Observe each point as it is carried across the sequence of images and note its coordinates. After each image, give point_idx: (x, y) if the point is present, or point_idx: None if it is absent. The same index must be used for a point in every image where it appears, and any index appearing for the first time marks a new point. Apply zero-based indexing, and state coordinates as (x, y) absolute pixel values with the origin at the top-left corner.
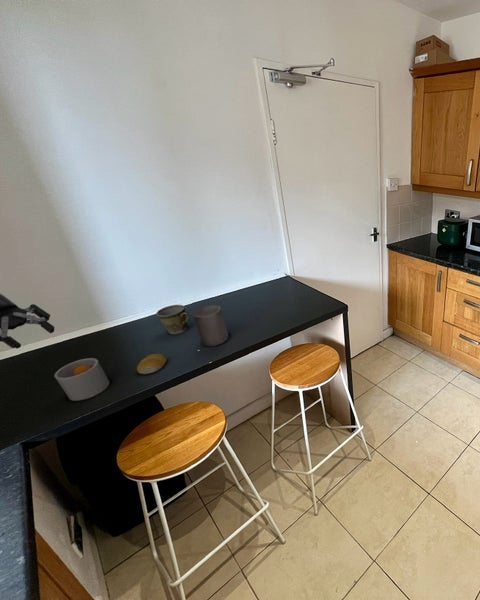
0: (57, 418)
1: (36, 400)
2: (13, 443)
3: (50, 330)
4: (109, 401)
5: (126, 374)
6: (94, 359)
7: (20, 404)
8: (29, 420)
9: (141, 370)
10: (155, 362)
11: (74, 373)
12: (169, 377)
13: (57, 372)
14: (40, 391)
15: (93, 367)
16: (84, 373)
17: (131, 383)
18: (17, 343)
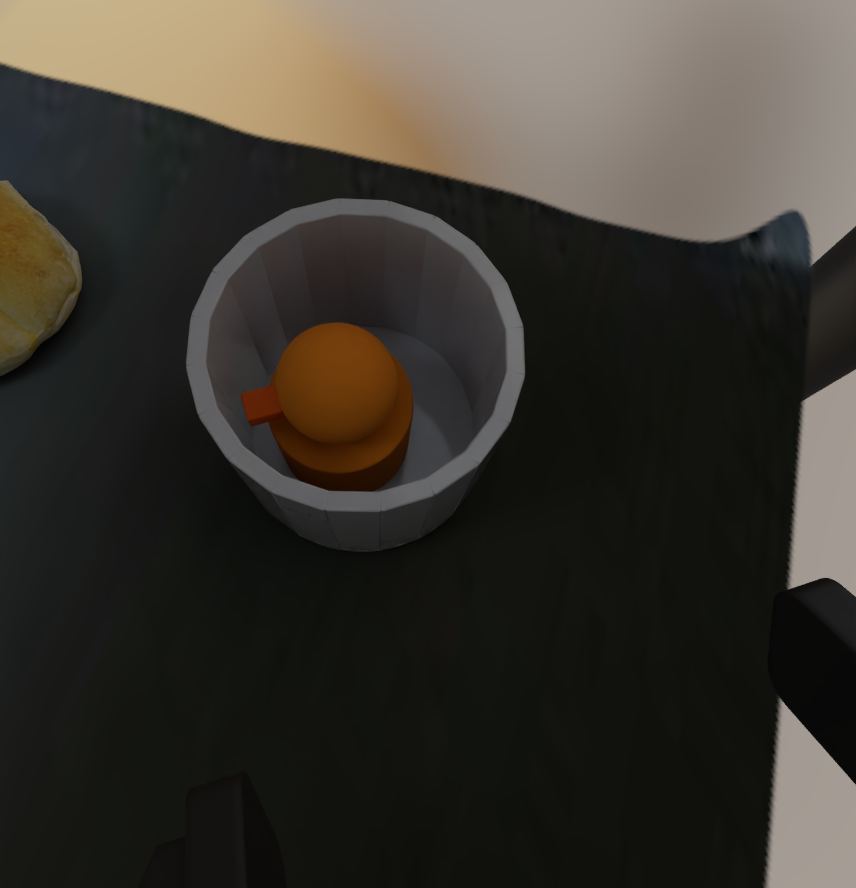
0: (589, 287)
1: (625, 644)
2: (785, 272)
3: (255, 813)
4: (353, 176)
5: (134, 382)
6: (198, 357)
7: (706, 698)
8: (698, 421)
9: (60, 241)
10: None
11: (393, 366)
12: (22, 76)
13: (487, 430)
14: (580, 766)
15: (274, 218)
16: (357, 202)
17: (182, 237)
18: (833, 596)
